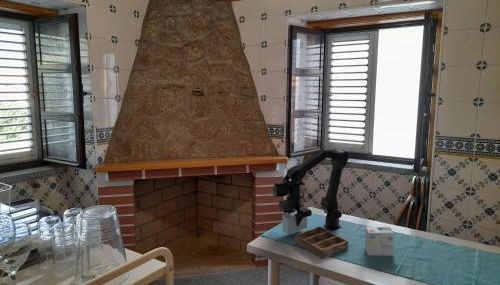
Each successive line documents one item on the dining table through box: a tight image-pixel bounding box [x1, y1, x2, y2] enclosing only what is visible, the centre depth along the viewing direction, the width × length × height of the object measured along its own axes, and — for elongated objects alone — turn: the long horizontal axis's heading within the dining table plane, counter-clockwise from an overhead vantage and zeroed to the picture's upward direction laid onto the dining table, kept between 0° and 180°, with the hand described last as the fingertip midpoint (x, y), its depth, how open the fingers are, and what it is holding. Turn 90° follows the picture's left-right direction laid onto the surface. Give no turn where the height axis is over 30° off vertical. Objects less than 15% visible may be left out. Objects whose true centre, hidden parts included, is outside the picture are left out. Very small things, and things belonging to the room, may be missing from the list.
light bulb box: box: [364, 225, 395, 257], centre depth 154 cm, size 11×7×11 cm, turn 84°
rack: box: [293, 226, 349, 259], centre depth 162 cm, size 16×19×4 cm
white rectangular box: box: [282, 211, 308, 235], centre depth 174 cm, size 12×4×8 cm, turn 121°
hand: (295, 224), depth 174 cm, fingers closed on white rectangular box, 4 cm apart
